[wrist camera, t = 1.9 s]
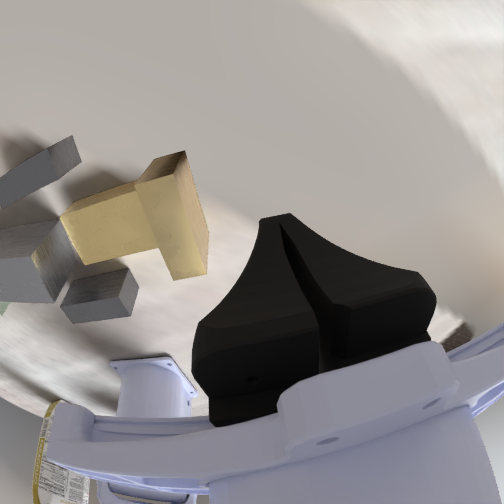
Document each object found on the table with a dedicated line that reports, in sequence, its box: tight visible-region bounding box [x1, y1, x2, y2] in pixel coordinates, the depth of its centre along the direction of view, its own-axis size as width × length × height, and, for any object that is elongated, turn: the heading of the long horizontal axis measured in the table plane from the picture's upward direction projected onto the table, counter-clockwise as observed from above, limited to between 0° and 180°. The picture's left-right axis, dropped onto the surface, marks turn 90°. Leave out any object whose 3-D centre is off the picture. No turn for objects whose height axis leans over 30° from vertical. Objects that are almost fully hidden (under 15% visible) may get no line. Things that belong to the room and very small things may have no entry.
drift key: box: [59, 151, 209, 281], centre depth 16 cm, size 6×9×4 cm, turn 100°
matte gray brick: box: [0, 219, 77, 303], centre depth 16 cm, size 4×10×5 cm, turn 91°
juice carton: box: [32, 399, 90, 504], centre depth 27 cm, size 9×8×24 cm
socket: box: [0, 136, 139, 324], centre depth 16 cm, size 13×6×3 cm, turn 10°
